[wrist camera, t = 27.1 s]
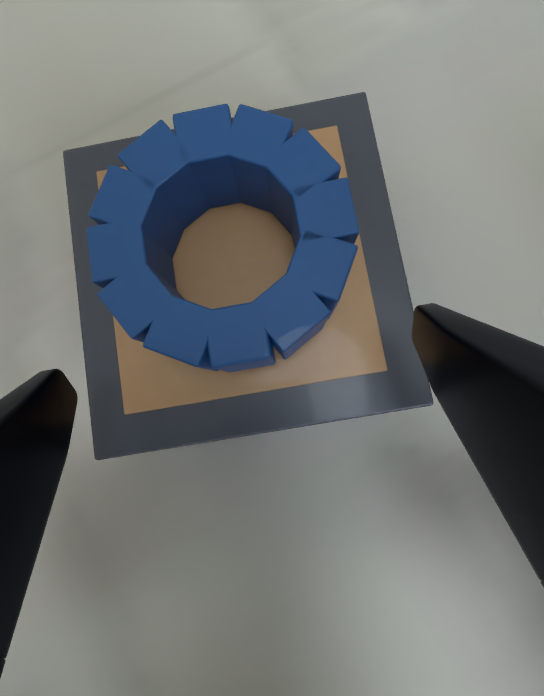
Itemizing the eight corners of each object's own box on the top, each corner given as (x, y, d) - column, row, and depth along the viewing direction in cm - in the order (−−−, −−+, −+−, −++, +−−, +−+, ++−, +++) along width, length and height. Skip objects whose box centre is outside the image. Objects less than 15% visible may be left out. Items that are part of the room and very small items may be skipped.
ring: (320, 145, 12) (328, 81, 9) (361, 349, 11) (382, 338, 9) (118, 185, 12) (73, 132, 10) (144, 387, 11) (102, 387, 9)
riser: (390, 399, 16) (439, 405, 11) (153, 439, 16) (88, 462, 11) (344, 175, 17) (367, 82, 12) (125, 216, 18) (56, 144, 12)
